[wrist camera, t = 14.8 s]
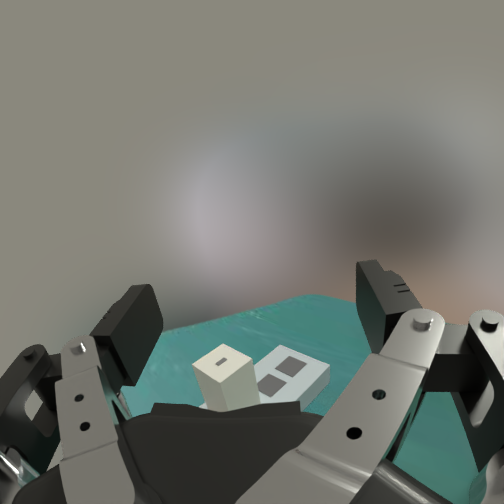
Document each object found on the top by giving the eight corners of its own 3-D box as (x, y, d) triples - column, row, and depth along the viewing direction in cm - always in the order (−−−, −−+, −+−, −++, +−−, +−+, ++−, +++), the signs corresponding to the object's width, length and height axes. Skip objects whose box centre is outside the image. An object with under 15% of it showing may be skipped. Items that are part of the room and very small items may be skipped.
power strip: (282, 361, 47) (279, 341, 46) (329, 382, 41) (330, 361, 40) (183, 438, 35) (173, 420, 33) (229, 477, 29) (222, 461, 27)
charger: (240, 410, 38) (222, 342, 34) (265, 426, 35) (252, 357, 31) (215, 430, 35) (191, 363, 31) (240, 447, 32) (219, 382, 28)
